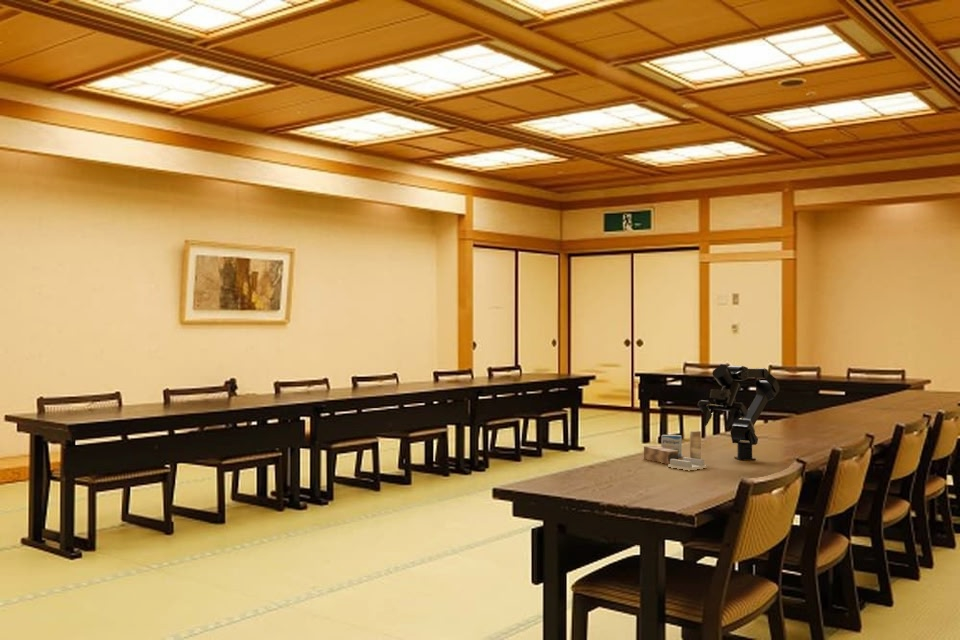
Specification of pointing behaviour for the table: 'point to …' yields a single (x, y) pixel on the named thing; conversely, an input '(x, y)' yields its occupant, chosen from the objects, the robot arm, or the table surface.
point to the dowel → (695, 444)
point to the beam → (660, 454)
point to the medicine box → (672, 442)
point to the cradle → (687, 464)
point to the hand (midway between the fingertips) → (715, 426)
